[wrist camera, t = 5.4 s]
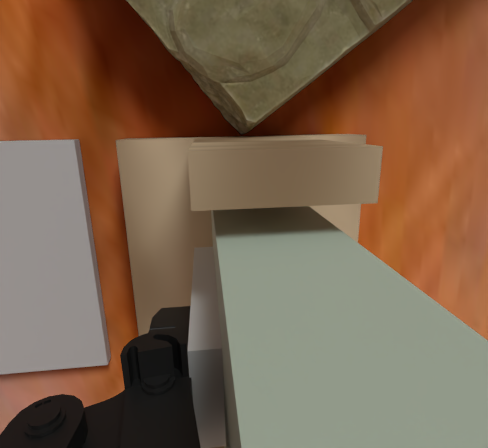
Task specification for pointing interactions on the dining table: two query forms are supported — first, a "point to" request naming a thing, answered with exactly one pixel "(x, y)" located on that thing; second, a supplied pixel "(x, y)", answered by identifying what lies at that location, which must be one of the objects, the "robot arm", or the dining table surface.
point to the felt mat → (47, 261)
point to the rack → (228, 197)
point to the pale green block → (336, 343)
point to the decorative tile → (261, 45)
